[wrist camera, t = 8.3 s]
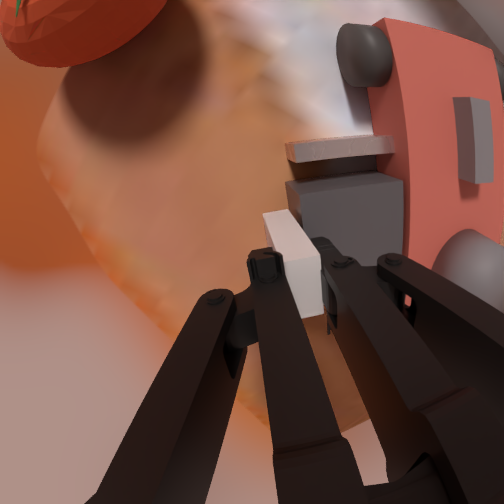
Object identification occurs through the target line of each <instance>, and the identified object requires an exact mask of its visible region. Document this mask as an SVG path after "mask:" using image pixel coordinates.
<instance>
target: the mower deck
mask: <svg viewBox="0 0 504 504" xmlns="http://www.w3.org/2000/svg"><path fill="white" fill-rule="evenodd" d="M336 50H337V59H338V64H339V67H340V71H341V73H342V75H343V77H344V79H345V81H346V82H347V83H348V84H349V85H350V86H353V87H367V92H368V98H369V104H370V110H371V117H372V125H373V133H374V135H386V136H393V139H394V149H395V153H386V154H376V162H377V172H379V173H382V174H385V175H388V176H391V177H394V178H397V179H400V180H402V181H403V201H404V212H403V245H402V255H404V256H406V257H408V258H410V259H412V260H414V261H415V262H417V263H419V264H421V265H423V266H425V267H426V268H428V269H430V270H432V271H434V272H436V273H437V274H439V275H441V276H443V277H444V278H446V279H448V280H450V281H451V282H453V283H455V284H457V285H458V286H460V287H462V288H463V289H465V290H467V291H468V292H470V293H472V294H473V295H475V296H477V297H478V298H480V299H482V300H483V301H485V302H486V303H488V304H490V305H491V306H493V307H494V308H496V309H498V310H499V311H501V312H502V313H504V247H503V246H501V245H500V239H501V233H502V226H503V217H504V109H503V100H504V66H503V65H502V63H501V62H500V61H498V60H497V59H495V58H494V55H493V51H492V49H490V48H487V47H485V46H483V45H480V44H478V43H475V42H473V41H470V40H467V39H465V38H462V37H459V36H456V35H453V34H450V33H447V32H444V31H440V30H437V29H433V28H430V27H426V26H422V25H418V24H414V23H409V22H405V21H400V20H395V19H389V18H382V19H381V20H379V21H378V22H376V23H375V24H373V25H372V26H370V25H361V24H350V23H347V24H344V25H343V26H342V27H341V28H340V30H339V32H338V36H337V43H336ZM405 304H406V305H408V306H410V305H411V297H409V296H408V295H406V298H405Z"/></svg>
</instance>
